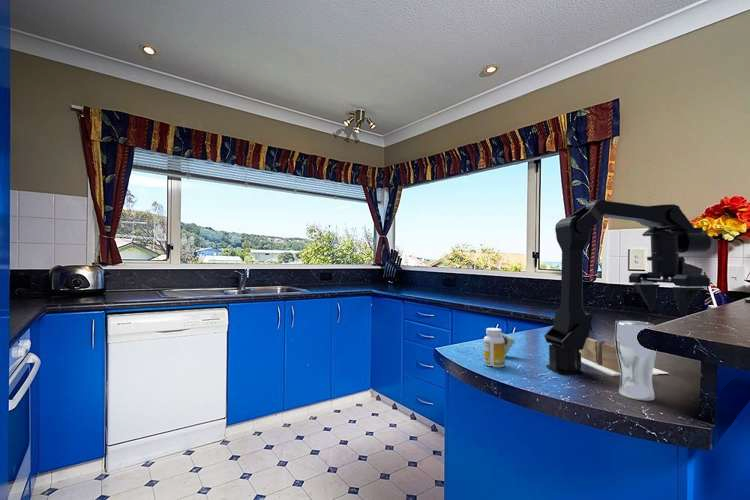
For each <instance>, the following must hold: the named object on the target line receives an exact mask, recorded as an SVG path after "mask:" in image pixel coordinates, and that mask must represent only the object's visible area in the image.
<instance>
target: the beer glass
mask: <svg viewBox="0 0 750 500" xmlns="http://www.w3.org/2000/svg"><path fill="white" fill-rule="evenodd" d="M614 325H615V326H614V327H615V328H614V346H615V349H616V354H617V359H618V363H619V368H620V374H621V376H620V379H619V386H618V394H620V395H621V396H623V397H626V398H628V399H632V400H637V401H643V402H645V401H647V402H648V401H654V400H655V399H656V395H655V391H654V387H653V386H654V385H653V375H652V373H653V368H655V367H654V366H655V362H656V355H657V350H656V351H654V350H650V349H647V348H644V347H643V346H641V345H640V344H639V342H638V340H637V335H638V333H639V332H640V331H641V330H643V329H645V328H648V327H652V326H654V327H655V324H654V323H651V322H646V321H639V320H615V324H614Z"/></svg>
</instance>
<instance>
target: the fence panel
mask: <svg viewBox="0 0 750 500" xmlns="http://www.w3.org/2000/svg"><path fill="white" fill-rule="evenodd" d="M597 341H598V340H596V339H594V338H591V337H588V338H587V339H586V341H585V344H584V347H583V350H579V352H580V353H581V356H583V357H585V358H588V359H590V360H592V361H595V362H597Z"/></svg>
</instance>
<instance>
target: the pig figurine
mask: <svg viewBox="0 0 750 500" xmlns="http://www.w3.org/2000/svg"><path fill="white" fill-rule="evenodd" d="M501 337H502V338H503V339H504V342H505V356H506V355H507V354H508V353H509V351H510V349H511V348H512V346H513V345H514V344H515V342H516V340H515V338H513V337H510V336H508V335H507V334H506V333H503V332H502V335H501Z"/></svg>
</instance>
